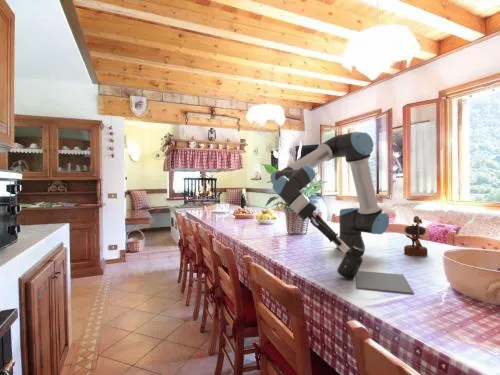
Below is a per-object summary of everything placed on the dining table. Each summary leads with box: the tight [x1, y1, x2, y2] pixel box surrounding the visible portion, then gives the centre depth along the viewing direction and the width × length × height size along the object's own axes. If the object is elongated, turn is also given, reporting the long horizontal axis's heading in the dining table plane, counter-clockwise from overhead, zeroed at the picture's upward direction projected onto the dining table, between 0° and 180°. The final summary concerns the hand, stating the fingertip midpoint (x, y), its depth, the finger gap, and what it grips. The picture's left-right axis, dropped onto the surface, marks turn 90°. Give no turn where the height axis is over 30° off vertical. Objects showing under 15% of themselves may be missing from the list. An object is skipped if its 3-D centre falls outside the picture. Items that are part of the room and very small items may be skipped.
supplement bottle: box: [336, 245, 365, 281], centre depth 112 cm, size 7×7×12 cm
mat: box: [355, 270, 415, 295], centre depth 109 cm, size 18×20×1 cm
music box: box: [403, 215, 428, 258], centre depth 150 cm, size 15×11×20 cm
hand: (346, 250), depth 113 cm, fingers closed
